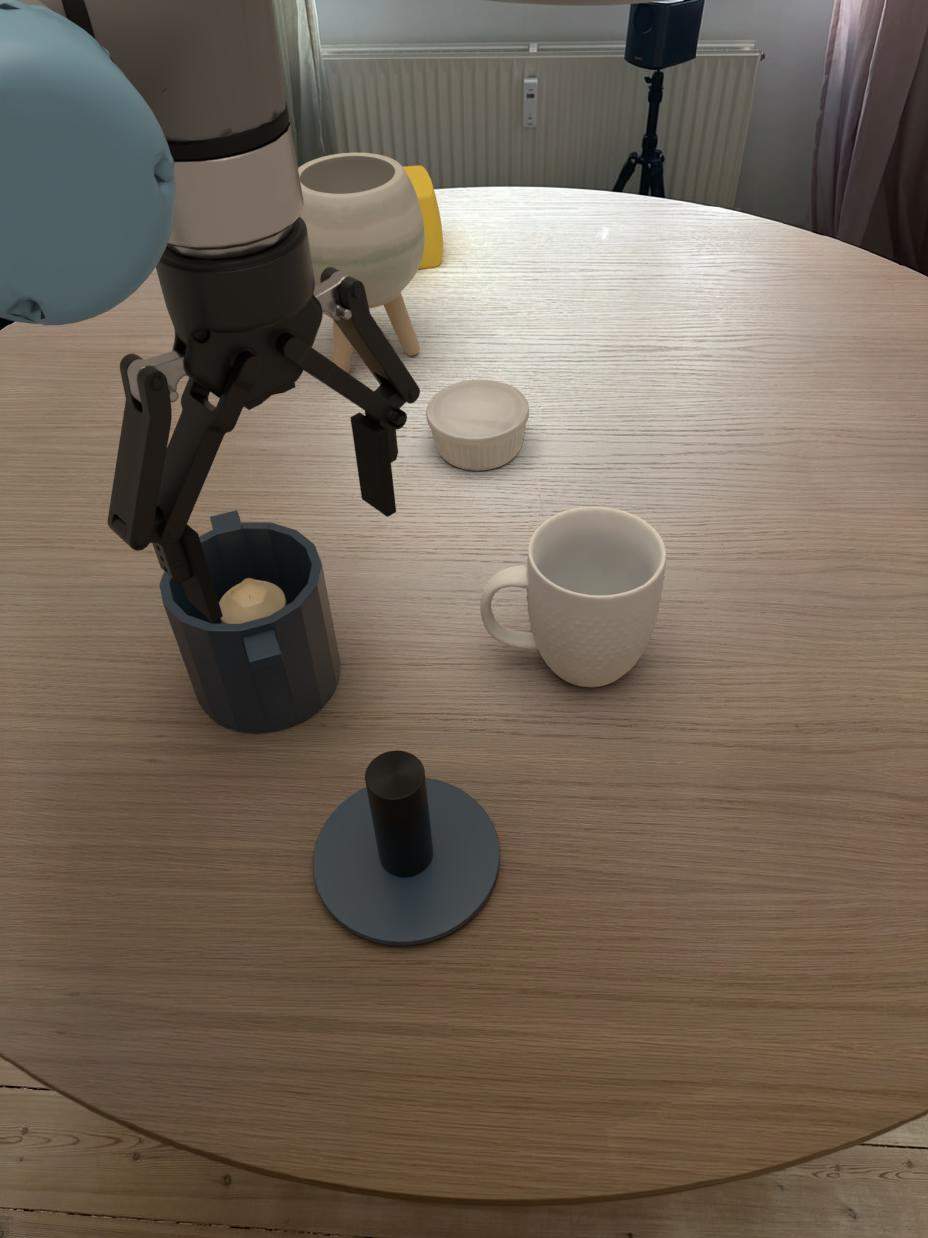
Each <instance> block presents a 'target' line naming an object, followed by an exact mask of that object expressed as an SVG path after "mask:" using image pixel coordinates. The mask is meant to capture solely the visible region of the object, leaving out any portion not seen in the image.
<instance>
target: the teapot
mask: <svg viewBox="0 0 928 1238" xmlns="http://www.w3.org/2000/svg"><path fill="white" fill-rule="evenodd" d="M402 167H403V168H404V170H405V171H406V173H407V175H408V176H409V178H410V180H411V182H412V184H413V187H414V189H415V192H416V194H417V197H418V201H419V204H420V207H421V211H422V216H423V223H424V232H425V243H424V252H423V257H422V260H421V263H420V266H419V268H418V270H423V269H431V268H436V267H439V266H440V265H441V263H442V259H443V252H444V235H443V234H444V233H443V225H442V218H441V213H440V208H439V203H438V200H437V195H436V192H435V188H434V185H433V181H432V178H431V177H430V175H429V173H428V170H427V169H426V168H425V167H424V166H422V165H421V164H420V165H408V166H407V165H405V166H402Z"/></svg>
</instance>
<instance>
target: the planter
mask: <svg viewBox="0 0 928 1238" xmlns="http://www.w3.org/2000/svg"><path fill="white" fill-rule="evenodd" d="M403 167H404V166H403V165H402V164H401V163H400V162H398V161H397V160H395V159H393V158H391V157H389V156H386V155H382V154H379V153H378V154H377V153H372V152H371V153H370V152H341V153H334V154H329V155H325V156H321V157H317V158H314V159H312V160H310V161H308V162H305V163H304V164H302V165H301V166H298V171H299V177H300V183H301V189H302V195H303V201H304V205H303V209H302V212H301V215H300V217H301V218H302V219H303V220H304V222H305V224H306V227H307V233H308V239H309V246H310V252H311V259H312V266H313V272H314V279H315V286H317V285H319V284H320V277H321V274H322V272H323V270H325V269H326V268H327V267H334V268H336V269H337V270H339V271H341V272H343V273H345V274H347V275H349V276H351V277H353V278H355V279H357V280H359V281H361V282H362V283H363V285H364V287H365V292H366V296H367V301H368V306H369V310H370V309H375V308H379V307H381V306H383V308H384V310H385V313H386V314H387V316H388V317H387V318H388V319H389V322H390V323H391V326H392V328H393V331H394V332H395V335H396V336H397V339H398V342H399V343H400V345H401V348H402V350H403V352H404V354H406V355H407V356H415V355H418V354H419V353H420V351H421V347H420V343H419V339H418V336H417V334H416V331H415V328H414V326H413V324H412V320H411V318H410V315H409V312H408V309H407V305H406V303H405V300H404V298H403V295H402V292H403V291H404V290H405V289H406V287H408V286H409V284H410V283H411V282H412V281H413V278H414V277H415V275H416V274H417V273H418V270H419V269H418V268H419V266H420V263H421V260H422V257H423V252H424V243H425V232H424V223H423V216H422V211H421V207H420V204H419V201H418V197H417V194H416V192H415V189H414V187H413V184H412V182H411V180H410V178H409V176H408V175H407V173H406V171H405V170H404V168H403ZM352 354H353V346H352V345H351V344H350V342H349V341H348V339H347V338H346V337H345V335H344V334H343V332H342V331H341V330H340V328H339V327H338V325H337V324H336V323H335V321H334V320H333V319H332V362H333V363H335V364H336V365H337V366H338V367H340V368H341V369H343V370H344V371H346V372H347V373H349V374H350V371H351V364H352V363H351V362H352Z"/></svg>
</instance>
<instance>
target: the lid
mask: <svg viewBox="0 0 928 1238" xmlns="http://www.w3.org/2000/svg"><path fill="white" fill-rule="evenodd" d="M364 783H365V787H363V788H362V789H360V790H358V791H356V792H355V793H353V794H351V795H350V796H349V797H348V798H346V799H345V800H344V801H342V802H341V803H340V804H339V805H338V806H337V807H336V809H334V811H332V813H331V814H330V815H329V817H328V818H327V819H326V821H325V822H324V824H323V826H322V828H321V830H320V832H319V834H318V837H317V839H316V842H315V846H314V850H313V858H312V869H313V870H312V871H313V873H312V874H313V879H314V885H315V888H316V890H317V893H318V895H319V899H320V900H321V902H322V903H323V906H324V907H325V909H326V910H327V911H328V912H329V914H330V915H331V917H332V918H334V920H336V922H338V923H339V924H340V925H341V926H342V927H344V928H345V929H346V930H348V931H349V932H351V933H352V934H355V935H356V936H358V937H360V938H362V939H365V940H368V941H370V942H373V943H377V944H382V945H388V946H414V945H420V944H425V943H429V942H433V941H437V940H439V939H441V938H443V937H446V936H448V935H450V934H452V933H453V932H455V931H458V930H459V929H460V928H462V927H463V926H464V925H466V923H468V922H470V921H471V919H473V917H475V916H476V915H477V914H478V913H479V911H480V910H481V909H482V908H483V907H484V905H485V904H486V902H487V901H488V899H489V897H490V895H492V892H493V890H494V888H495V885H496V883H497V879H498V874H499V871H500V870H499V869H500V862H501V861H500V860H501V855H500V844H499V838H498V834H497V830H496V828H495V826H494V824H493V822H492V820H491V818H490V816H489V814H488V813H487V811H486V810H485V809H484V807H483V806H482V805H481V804H480V803H479V802H478V801H477V800H476V799H475V798H474V797H472V796H471V795H470V794H469V793H467V792H466V791H464V790H462V789H461V788H459V787H458V786H455V785H453V784H452V783H451V784H450V783H448V782H446V781H442V780H439V779H435V778H430V777H426V772H425V767H424V764H423V762H422V761H421V760H420V758H418V757H417V756H416V755H414V754H413V753H410V752H409V751H405V750H398V749H397V750H389V751H386V752H385V751H384V752H382V753H381V754H379V755H377V756H376V757H375V758H373V759H372V760H371V761H370V762H369V764H368V765H367V767H366V770H365V772H364Z"/></svg>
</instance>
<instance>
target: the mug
mask: <svg viewBox="0 0 928 1238" xmlns="http://www.w3.org/2000/svg"><path fill="white" fill-rule="evenodd" d="M526 558H527V559H526V560H527V562H526V565H524V564H523V565H515V566H510V567H507V568H504V569H502V570H499V571H498V572H496V573H495V574H494V575H493V576H492V577H491V578H490V579H489V580H488V581H487V583H486V585H485V587H484V588H483V591H482V594H481V597H480V607H479V611H480V617H481V621H482V625H483V627H484V628H485V630H486V632H487V633H488V635H490V636H491V637H492V638H493V639H494V640H495V641H496V642H499V643H501V644H503V645H505V646H509V647H513V648H517V649H522V650H523V649H524V650H531V651H538V652H539V653H540V656H541V658H542V659H543V661H544V663H545V664H546V666H548V667H549V669H550V670H551V671H552V672H553V673H554V674H555V675H556V676H558V677H559V678H560V679H561V680H563V681H564V682H567V683H569V684H572V685H574V686H577V687H583V688H598V687H603V686H606V685H610V684H611V683H614V682H616V681H618V680H619V679H620V678H622V677H624V675H625V674H627V673H628V672H629V671H630V670H631V669H632V668H633V667H634V666H635V665H636V664H637V662H638V661H639V659H641V657H642V655H643V653H644V652H645V651H646V650H647V646H648V644H649V643H650V642H651V638H652V635H653V633H654V631H655V626H656V625H657V624H656V623H657V621H658V615H659V611H660V604H661V602H662V594H663V589H664V582H665V581H664V580H665V572H666V567H667V549H666V546H665V543H664V540H663V538H662V537H661V535H660V534H659V532H658V531H657V530H656V528H655V527H654V526H653V525H651V524H650V523H649V522H648V521H646V520H645V519H643V518H641V517H639V516H637V515H635V514H633V513H631V512H628V511H625V510H622V509H618V508H613V507H607V506H579V507H574V508H570V509H569V508H568V509H566V510H564V511H561V512H558V513H556V514H554V515H552V516H550V517H548V518H547V519H546V520H544V521H543V522H542V523H540V524H539V525H538V527H537V528H536V529H535V530H534V531H533V533H532V534H531V537H530V539H529V542H528V545H527V557H526ZM512 587H513V588H521V589H526V601H527V614H528V622H529V625H530V631H519V630H515V629H510V628H508V627H505V626H503V625H502V624H500V623H499V621H497V619H496V618H495V615H494V613H493V610H492V601H493V599H494V596H495V595H496V594H497V592H499V591H500V590H502V589H505V588H512Z"/></svg>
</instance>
